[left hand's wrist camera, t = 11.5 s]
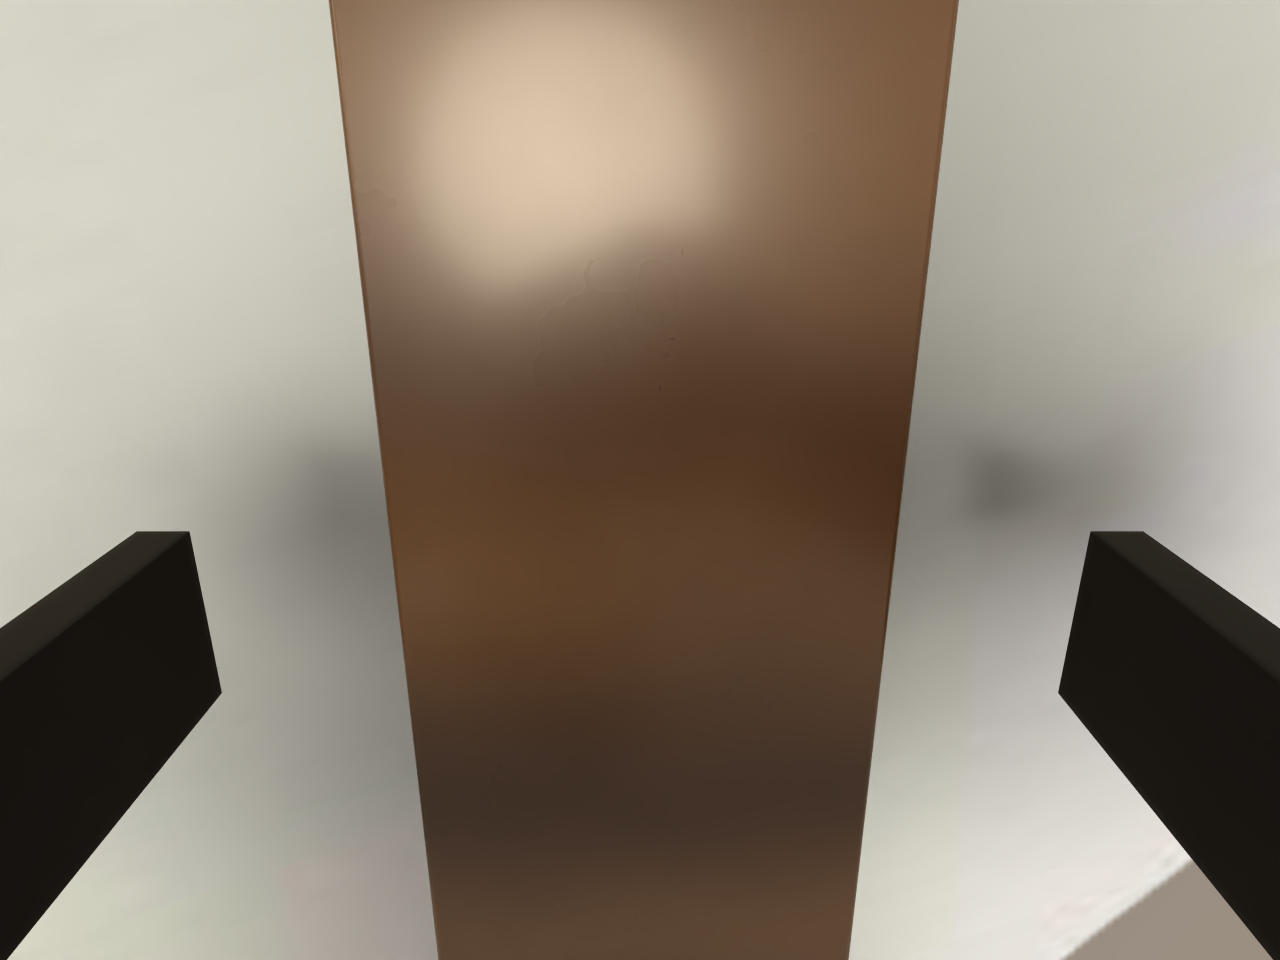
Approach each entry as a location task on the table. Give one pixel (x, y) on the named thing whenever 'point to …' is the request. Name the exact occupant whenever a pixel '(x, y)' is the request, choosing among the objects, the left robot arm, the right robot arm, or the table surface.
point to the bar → (643, 446)
